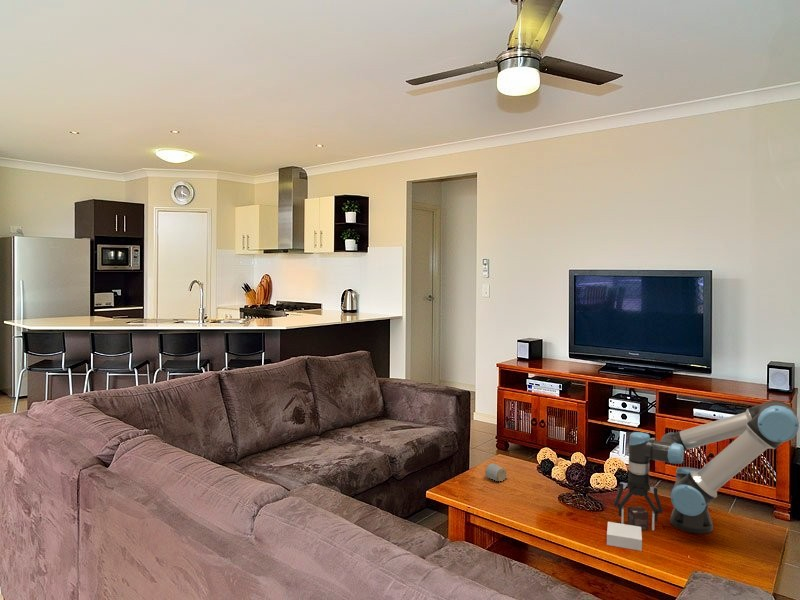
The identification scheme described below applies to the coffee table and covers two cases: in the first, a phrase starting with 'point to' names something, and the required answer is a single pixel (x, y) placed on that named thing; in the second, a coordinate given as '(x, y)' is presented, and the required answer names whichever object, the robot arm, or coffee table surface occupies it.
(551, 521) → the coffee table surface
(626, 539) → the base block
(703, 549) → the coffee table surface
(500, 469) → the ceramic mug
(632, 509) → the box
